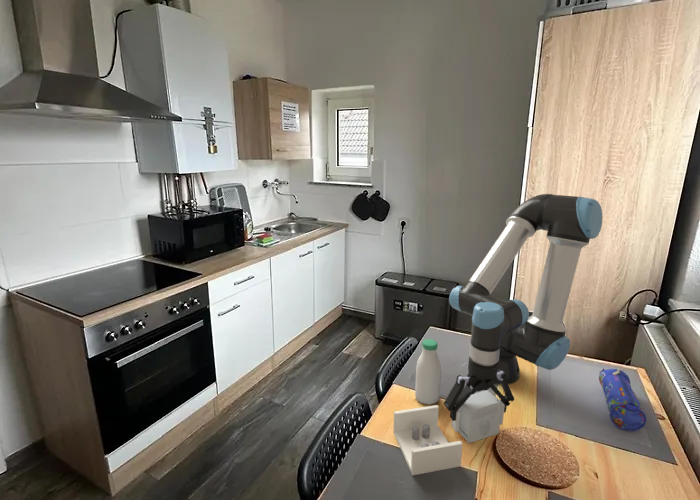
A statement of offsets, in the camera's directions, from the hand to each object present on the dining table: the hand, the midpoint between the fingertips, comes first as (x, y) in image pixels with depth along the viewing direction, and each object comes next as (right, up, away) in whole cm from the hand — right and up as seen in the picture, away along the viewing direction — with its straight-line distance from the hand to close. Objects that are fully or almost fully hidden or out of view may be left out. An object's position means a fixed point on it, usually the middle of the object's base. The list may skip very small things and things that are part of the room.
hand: (476, 425), depth 108 cm
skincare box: (0, -2, +1) cm, 2 cm away
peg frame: (-16, -4, -5) cm, 17 cm away
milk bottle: (-11, +2, +15) cm, 19 cm away
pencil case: (+46, 0, +9) cm, 47 cm away
